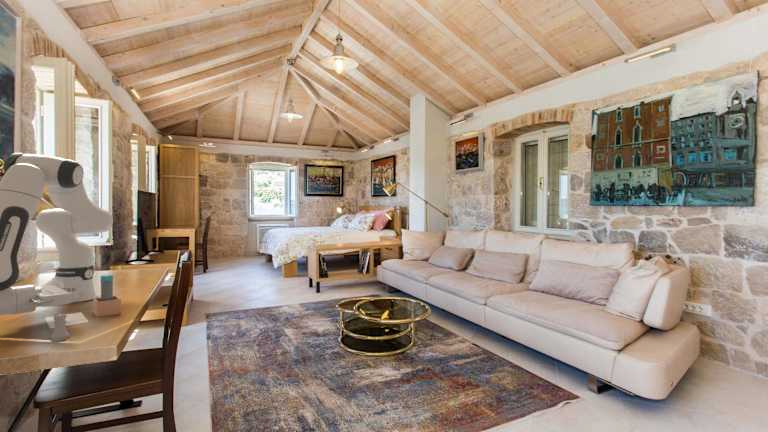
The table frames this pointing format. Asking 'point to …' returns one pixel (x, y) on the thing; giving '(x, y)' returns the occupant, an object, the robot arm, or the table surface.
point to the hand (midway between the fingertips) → (79, 291)
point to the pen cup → (106, 306)
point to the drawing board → (68, 319)
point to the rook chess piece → (60, 328)
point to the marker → (106, 287)
